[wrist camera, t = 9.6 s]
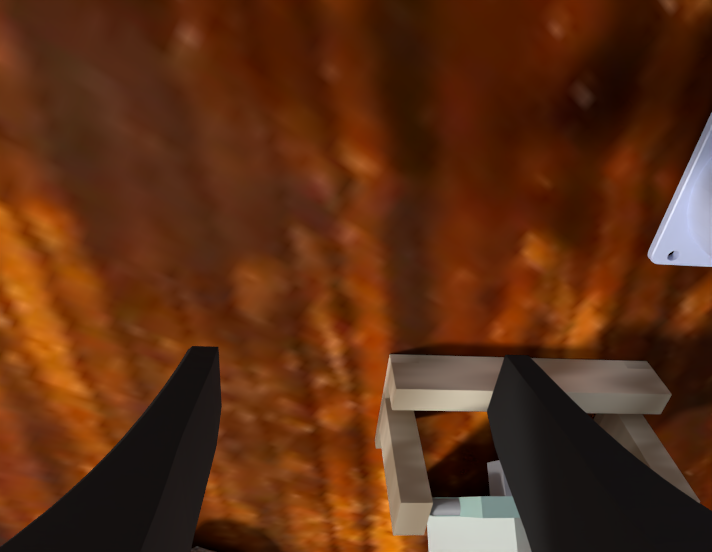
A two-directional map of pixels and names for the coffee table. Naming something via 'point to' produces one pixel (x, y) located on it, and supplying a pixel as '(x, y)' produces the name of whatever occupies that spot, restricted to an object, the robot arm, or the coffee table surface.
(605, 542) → the robot arm
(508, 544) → the white cube
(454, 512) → the trapdoor
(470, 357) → the frame
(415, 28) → the coffee table surface
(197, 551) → the mineral rock
